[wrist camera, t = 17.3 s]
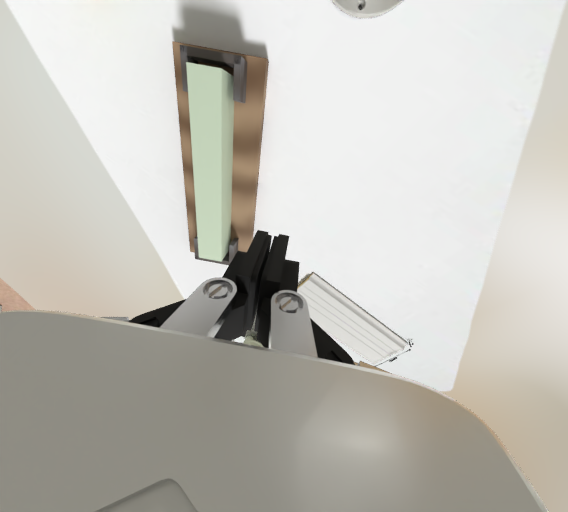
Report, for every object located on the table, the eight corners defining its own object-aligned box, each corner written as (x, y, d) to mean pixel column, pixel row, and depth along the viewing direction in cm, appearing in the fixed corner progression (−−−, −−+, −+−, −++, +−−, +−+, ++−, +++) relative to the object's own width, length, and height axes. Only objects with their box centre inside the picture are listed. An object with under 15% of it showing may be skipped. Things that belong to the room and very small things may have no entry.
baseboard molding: (318, 266, 45) (282, 298, 50) (318, 274, 42) (280, 307, 48) (412, 338, 52) (372, 359, 58) (417, 349, 50) (375, 369, 55)
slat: (204, 71, 28) (186, 62, 24) (234, 77, 28) (221, 68, 24) (210, 244, 42) (198, 257, 38) (230, 247, 42) (221, 261, 38)
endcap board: (178, 45, 28) (158, 32, 24) (268, 61, 28) (262, 51, 24) (193, 248, 44) (182, 259, 41) (251, 258, 44) (245, 271, 41)
